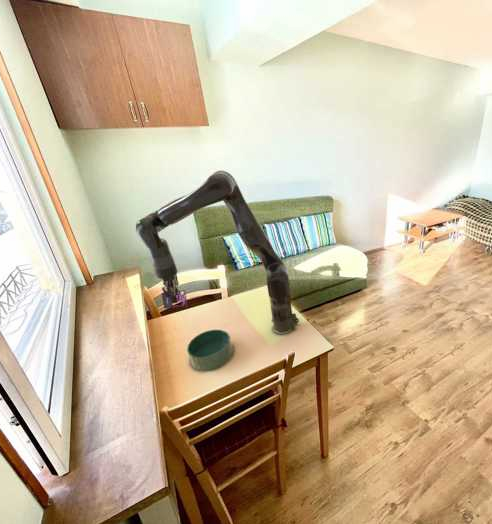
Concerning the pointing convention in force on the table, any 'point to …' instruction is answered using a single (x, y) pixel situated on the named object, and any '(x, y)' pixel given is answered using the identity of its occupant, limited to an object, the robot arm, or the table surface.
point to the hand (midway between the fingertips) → (176, 299)
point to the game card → (169, 304)
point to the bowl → (210, 350)
